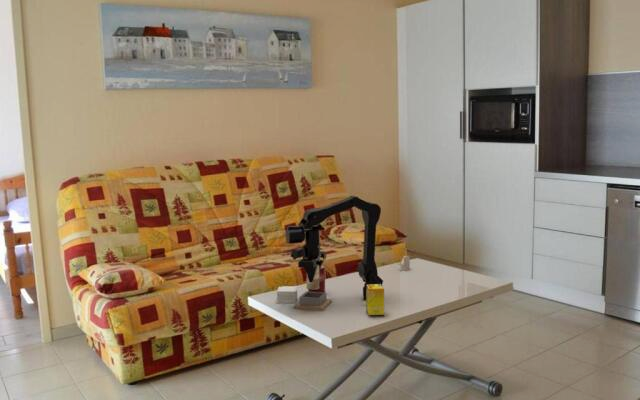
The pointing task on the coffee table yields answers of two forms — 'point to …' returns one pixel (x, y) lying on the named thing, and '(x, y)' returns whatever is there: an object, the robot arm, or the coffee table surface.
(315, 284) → the maple peg
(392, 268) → the coffee table surface
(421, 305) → the coffee table surface
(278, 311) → the coffee table surface
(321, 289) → the soda can
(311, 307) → the sleeve socket
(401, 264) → the architectural model
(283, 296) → the small box
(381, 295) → the supplement box
